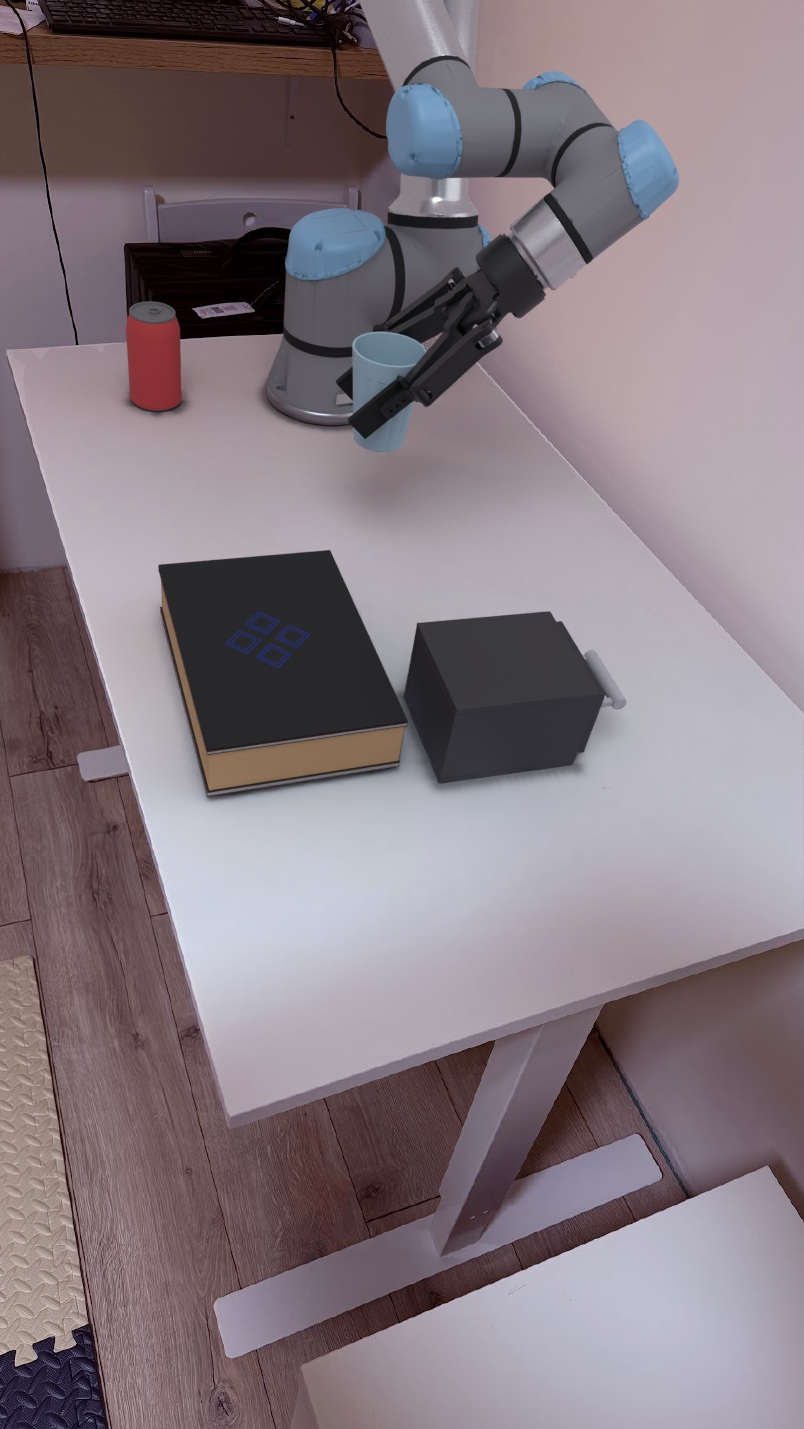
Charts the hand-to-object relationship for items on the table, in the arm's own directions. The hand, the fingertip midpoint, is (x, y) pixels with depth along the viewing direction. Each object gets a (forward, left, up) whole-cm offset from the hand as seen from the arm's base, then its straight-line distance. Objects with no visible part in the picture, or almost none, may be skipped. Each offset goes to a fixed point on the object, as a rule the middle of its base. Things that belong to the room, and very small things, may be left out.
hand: (350, 409), depth 107 cm
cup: (-1, +3, -4) cm, 5 cm away
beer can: (-20, -29, -15) cm, 38 cm away
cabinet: (+27, +21, -15) cm, 38 cm away
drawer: (+26, +24, -14) cm, 38 cm away
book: (+29, 0, -15) cm, 32 cm away
